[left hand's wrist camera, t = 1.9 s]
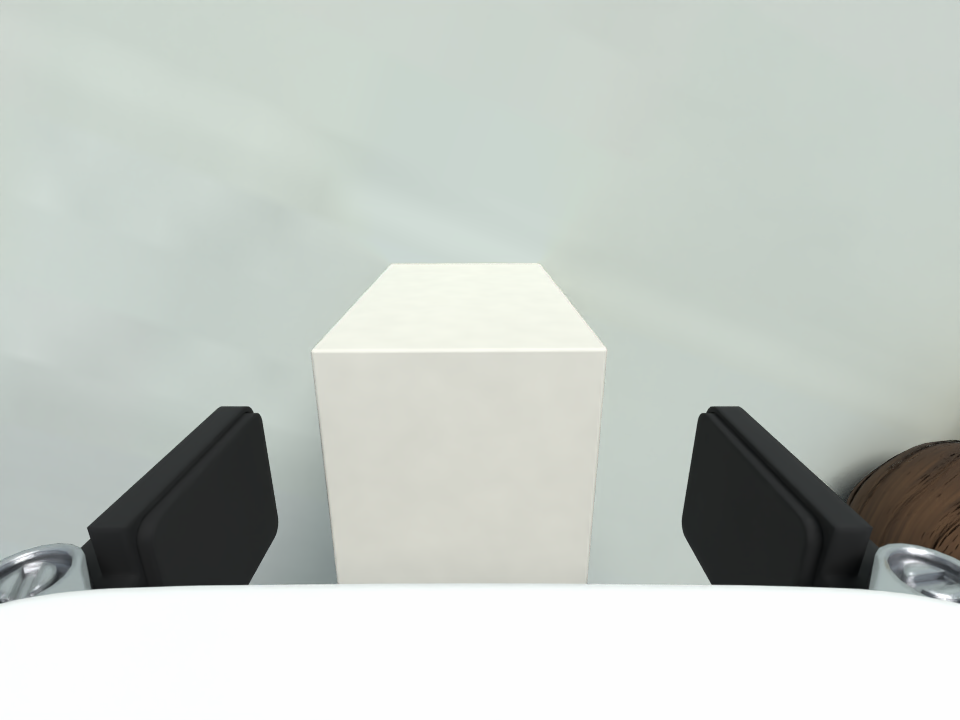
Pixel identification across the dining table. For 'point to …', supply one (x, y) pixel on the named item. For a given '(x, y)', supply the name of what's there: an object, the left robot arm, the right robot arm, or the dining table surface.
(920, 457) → the figurine
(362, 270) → the dining table surface
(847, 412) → the dining table surface
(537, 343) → the brick
